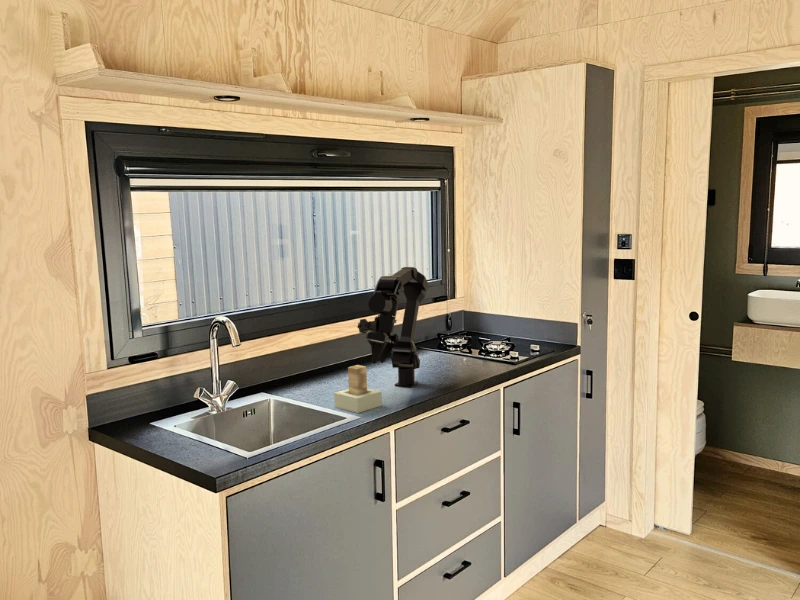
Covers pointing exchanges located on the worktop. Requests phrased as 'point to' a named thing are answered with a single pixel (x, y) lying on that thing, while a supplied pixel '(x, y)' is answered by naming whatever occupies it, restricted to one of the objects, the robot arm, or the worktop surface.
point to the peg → (357, 380)
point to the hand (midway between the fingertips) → (377, 362)
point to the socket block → (358, 400)
